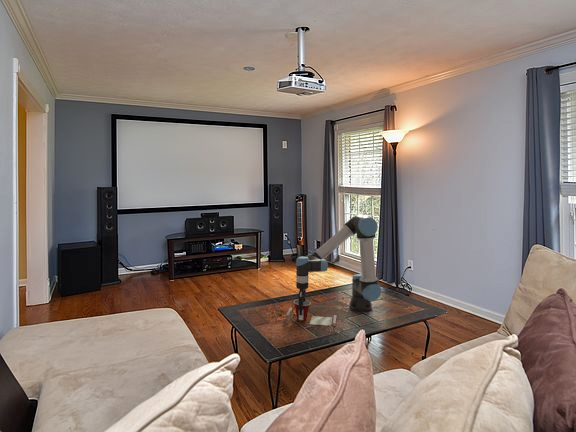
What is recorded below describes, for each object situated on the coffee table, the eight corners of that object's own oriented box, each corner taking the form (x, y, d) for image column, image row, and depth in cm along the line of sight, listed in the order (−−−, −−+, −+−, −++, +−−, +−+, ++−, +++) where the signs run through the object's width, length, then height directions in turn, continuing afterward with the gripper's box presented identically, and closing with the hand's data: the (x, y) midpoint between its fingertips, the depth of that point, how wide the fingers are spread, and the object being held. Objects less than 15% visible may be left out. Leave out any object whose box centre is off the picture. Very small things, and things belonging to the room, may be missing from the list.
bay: (336, 318, 240) (336, 310, 239) (335, 326, 227) (335, 318, 227) (289, 315, 245) (289, 307, 245) (286, 322, 233) (286, 314, 232)
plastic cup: (309, 323, 231) (309, 304, 230) (292, 322, 233) (292, 303, 232) (311, 317, 242) (312, 299, 240) (295, 316, 244) (295, 297, 242)
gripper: (299, 276, 246) (298, 310, 248) (293, 286, 225) (293, 323, 227) (310, 277, 245) (310, 311, 247) (305, 287, 223) (305, 324, 226)
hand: (302, 316), depth 237 cm, fingers closed on plastic cup, 9 cm apart
